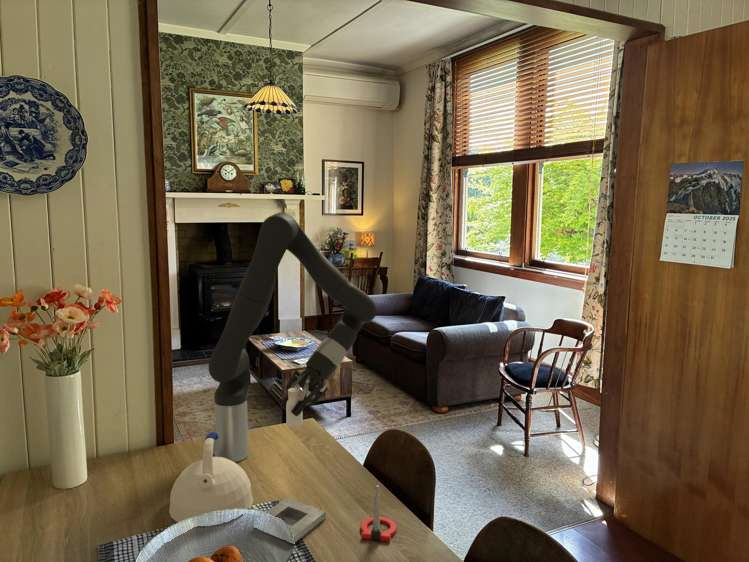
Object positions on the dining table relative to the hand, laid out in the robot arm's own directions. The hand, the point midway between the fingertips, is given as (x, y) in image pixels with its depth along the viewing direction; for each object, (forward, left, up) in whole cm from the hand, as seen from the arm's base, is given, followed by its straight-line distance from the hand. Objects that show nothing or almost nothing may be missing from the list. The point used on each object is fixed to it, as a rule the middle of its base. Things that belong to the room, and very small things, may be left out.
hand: (288, 410), depth 147 cm
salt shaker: (+1, +2, -4) cm, 5 cm away
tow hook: (+30, -3, -22) cm, 37 cm away
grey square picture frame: (+11, -12, -22) cm, 27 cm away
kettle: (-11, -16, -22) cm, 30 cm away
